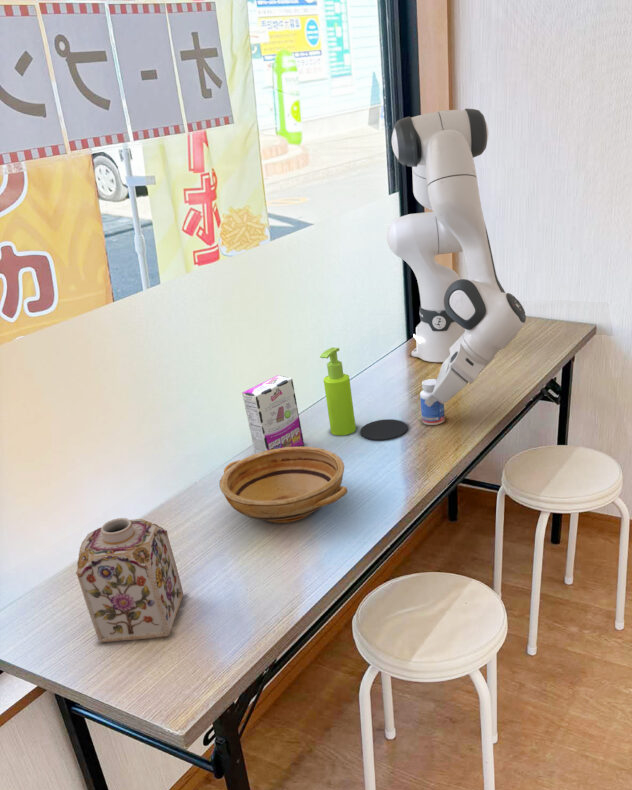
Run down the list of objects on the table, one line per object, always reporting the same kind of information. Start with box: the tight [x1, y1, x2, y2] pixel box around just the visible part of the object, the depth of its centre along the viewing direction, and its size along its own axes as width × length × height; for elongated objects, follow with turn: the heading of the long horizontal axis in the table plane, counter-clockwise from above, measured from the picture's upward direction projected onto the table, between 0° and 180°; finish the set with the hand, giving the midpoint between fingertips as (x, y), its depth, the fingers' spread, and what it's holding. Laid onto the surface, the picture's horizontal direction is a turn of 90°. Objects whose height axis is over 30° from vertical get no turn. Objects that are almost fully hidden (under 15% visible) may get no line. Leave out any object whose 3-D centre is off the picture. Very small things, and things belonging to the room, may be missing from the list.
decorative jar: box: [75, 517, 184, 644], centre depth 136 cm, size 12×12×18 cm
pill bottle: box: [419, 378, 446, 426], centre depth 198 cm, size 6×5×10 cm
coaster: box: [359, 419, 408, 442], centre depth 198 cm, size 11×11×1 cm
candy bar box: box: [241, 375, 305, 454], centre depth 189 cm, size 11×5×16 cm, turn 143°
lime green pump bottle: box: [319, 346, 357, 437], centre depth 195 cm, size 6×7×20 cm
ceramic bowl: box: [219, 446, 348, 524], centre depth 167 cm, size 30×24×8 cm
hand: (429, 397), depth 198 cm, fingers open, 6 cm apart
